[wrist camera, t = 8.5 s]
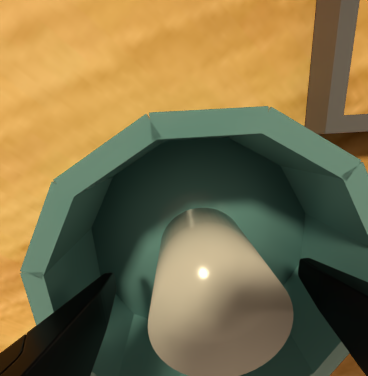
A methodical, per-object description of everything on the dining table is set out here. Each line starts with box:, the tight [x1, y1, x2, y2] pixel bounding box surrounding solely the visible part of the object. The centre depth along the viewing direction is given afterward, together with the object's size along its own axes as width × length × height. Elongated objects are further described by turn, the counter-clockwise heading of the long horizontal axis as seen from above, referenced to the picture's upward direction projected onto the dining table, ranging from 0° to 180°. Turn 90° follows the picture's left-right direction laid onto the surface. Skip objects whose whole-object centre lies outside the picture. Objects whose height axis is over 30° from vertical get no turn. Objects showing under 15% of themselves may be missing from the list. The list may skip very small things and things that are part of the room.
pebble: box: [148, 208, 293, 376], centre depth 9 cm, size 5×5×5 cm
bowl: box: [20, 106, 368, 376], centre depth 9 cm, size 14×14×4 cm
